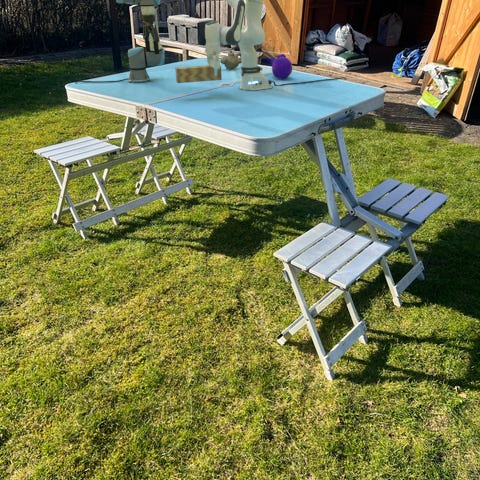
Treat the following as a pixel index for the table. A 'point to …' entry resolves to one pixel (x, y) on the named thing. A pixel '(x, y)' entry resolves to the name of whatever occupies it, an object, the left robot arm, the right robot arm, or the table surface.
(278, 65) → the toy
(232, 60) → the teapot
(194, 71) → the bar
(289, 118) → the table surface
